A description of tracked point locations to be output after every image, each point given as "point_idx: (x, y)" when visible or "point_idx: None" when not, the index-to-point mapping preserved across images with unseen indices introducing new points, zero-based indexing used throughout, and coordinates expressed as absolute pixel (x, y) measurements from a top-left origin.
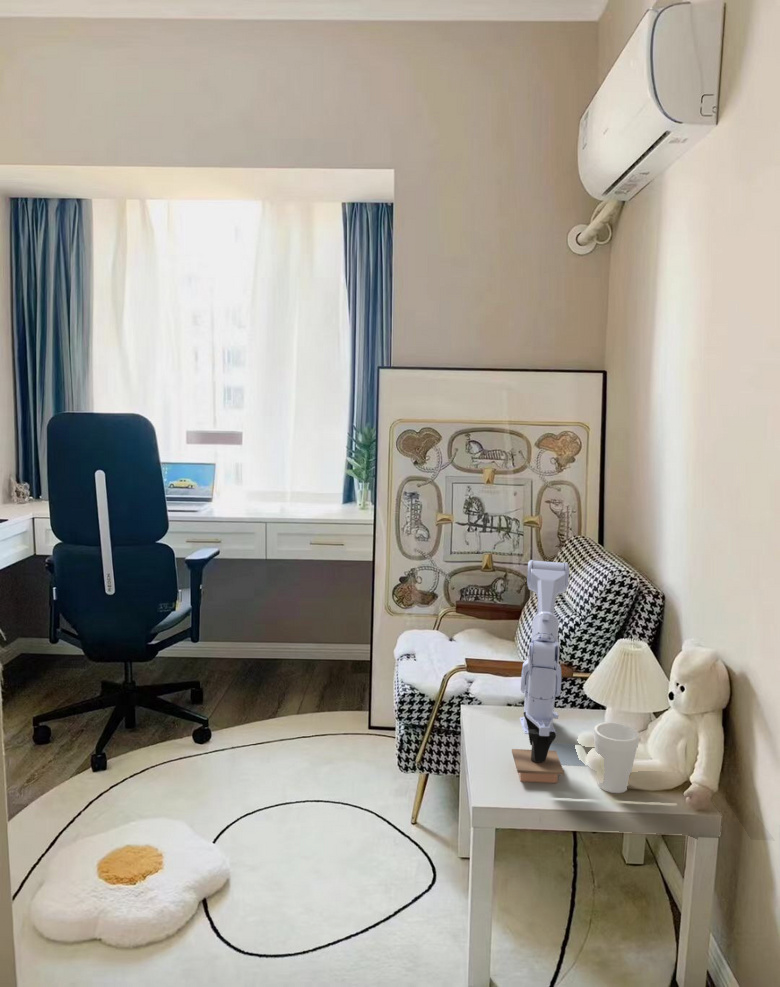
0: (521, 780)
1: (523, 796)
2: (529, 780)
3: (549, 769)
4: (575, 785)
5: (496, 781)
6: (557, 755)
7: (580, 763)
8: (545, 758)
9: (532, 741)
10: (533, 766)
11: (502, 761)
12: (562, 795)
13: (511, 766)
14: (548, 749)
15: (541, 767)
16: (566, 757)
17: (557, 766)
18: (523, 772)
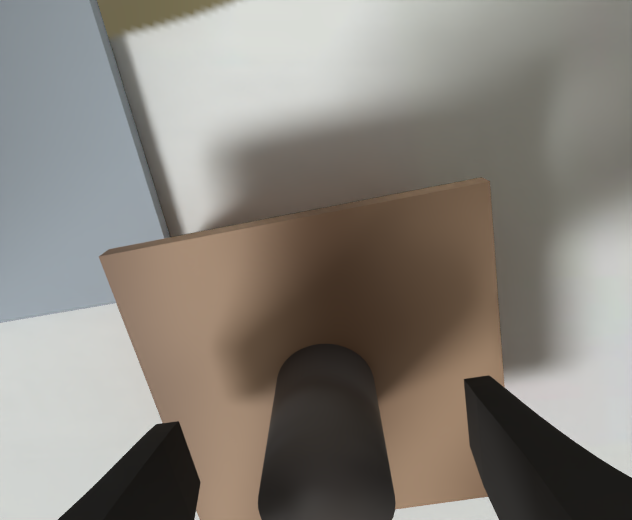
0: None
1: (590, 380)
2: None
3: (464, 299)
4: (399, 69)
5: (445, 502)
6: (184, 239)
7: (59, 24)
8: (508, 391)
9: (186, 500)
10: (437, 407)
11: None
12: (557, 162)
13: None
14: (588, 451)
15: (440, 355)
16: (10, 140)
17: (395, 237)
18: None
